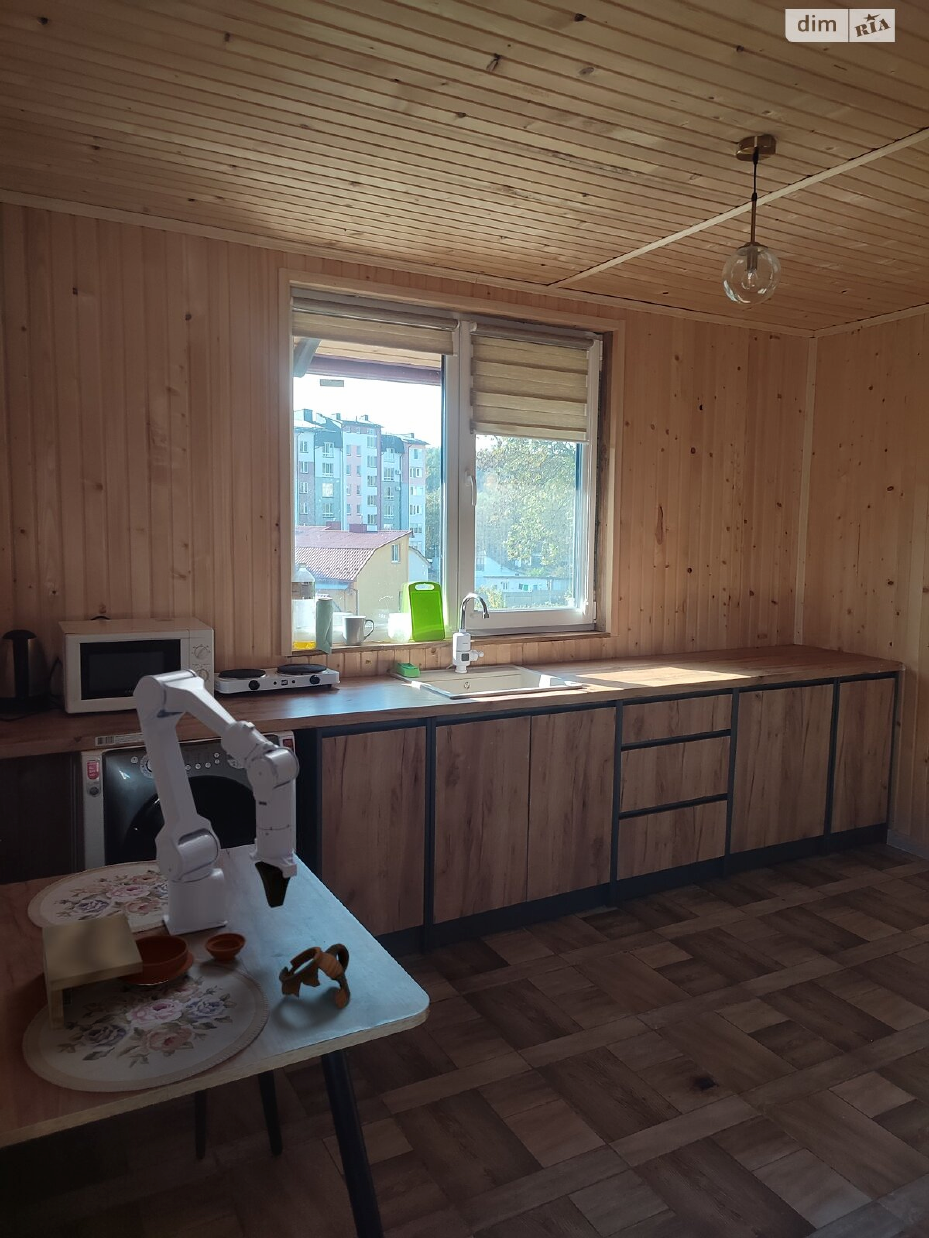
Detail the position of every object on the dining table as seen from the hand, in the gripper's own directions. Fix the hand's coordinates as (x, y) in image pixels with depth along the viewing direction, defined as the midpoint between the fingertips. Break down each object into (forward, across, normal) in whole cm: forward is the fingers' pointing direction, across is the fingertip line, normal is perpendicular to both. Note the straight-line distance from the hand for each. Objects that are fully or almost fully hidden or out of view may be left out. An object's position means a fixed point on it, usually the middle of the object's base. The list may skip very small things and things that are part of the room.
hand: (275, 905), depth 145 cm
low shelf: (+7, -2, -28) cm, 29 cm away
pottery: (+8, -1, -15) cm, 17 cm away
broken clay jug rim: (+8, +17, +1) cm, 19 cm away
